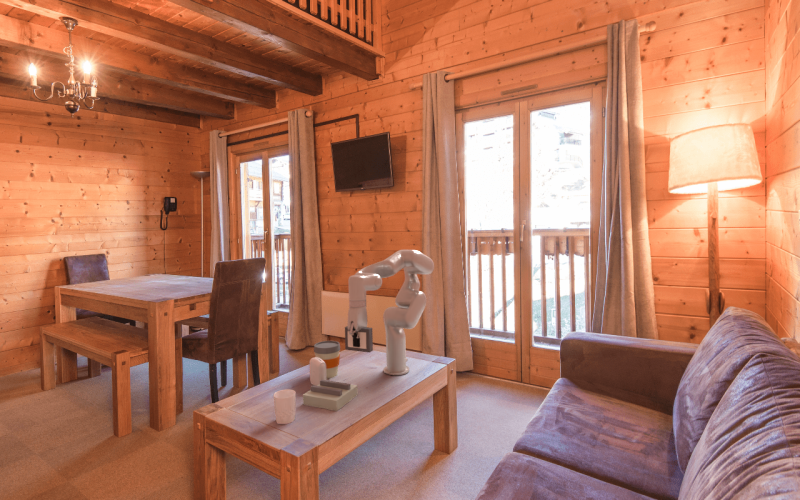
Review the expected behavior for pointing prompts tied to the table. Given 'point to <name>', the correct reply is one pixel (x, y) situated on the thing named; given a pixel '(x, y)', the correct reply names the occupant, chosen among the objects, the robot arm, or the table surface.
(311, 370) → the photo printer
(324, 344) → the reusable coffee cup
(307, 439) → the table surface
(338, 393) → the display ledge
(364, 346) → the thin grey panel
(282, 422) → the white cup
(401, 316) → the robot arm
